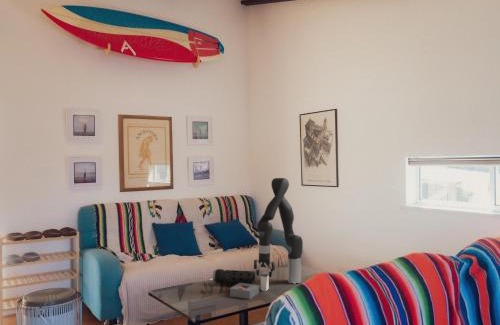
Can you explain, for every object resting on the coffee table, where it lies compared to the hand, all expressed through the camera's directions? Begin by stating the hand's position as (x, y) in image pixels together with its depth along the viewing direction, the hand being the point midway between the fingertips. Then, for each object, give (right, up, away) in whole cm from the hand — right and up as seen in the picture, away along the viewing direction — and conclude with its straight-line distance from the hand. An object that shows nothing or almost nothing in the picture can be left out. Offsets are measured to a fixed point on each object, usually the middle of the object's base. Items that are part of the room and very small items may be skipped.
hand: (264, 276), depth 287 cm
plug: (0, -9, 0) cm, 9 cm away
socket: (-13, -9, -9) cm, 18 cm away
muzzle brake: (-20, -9, +12) cm, 26 cm away
